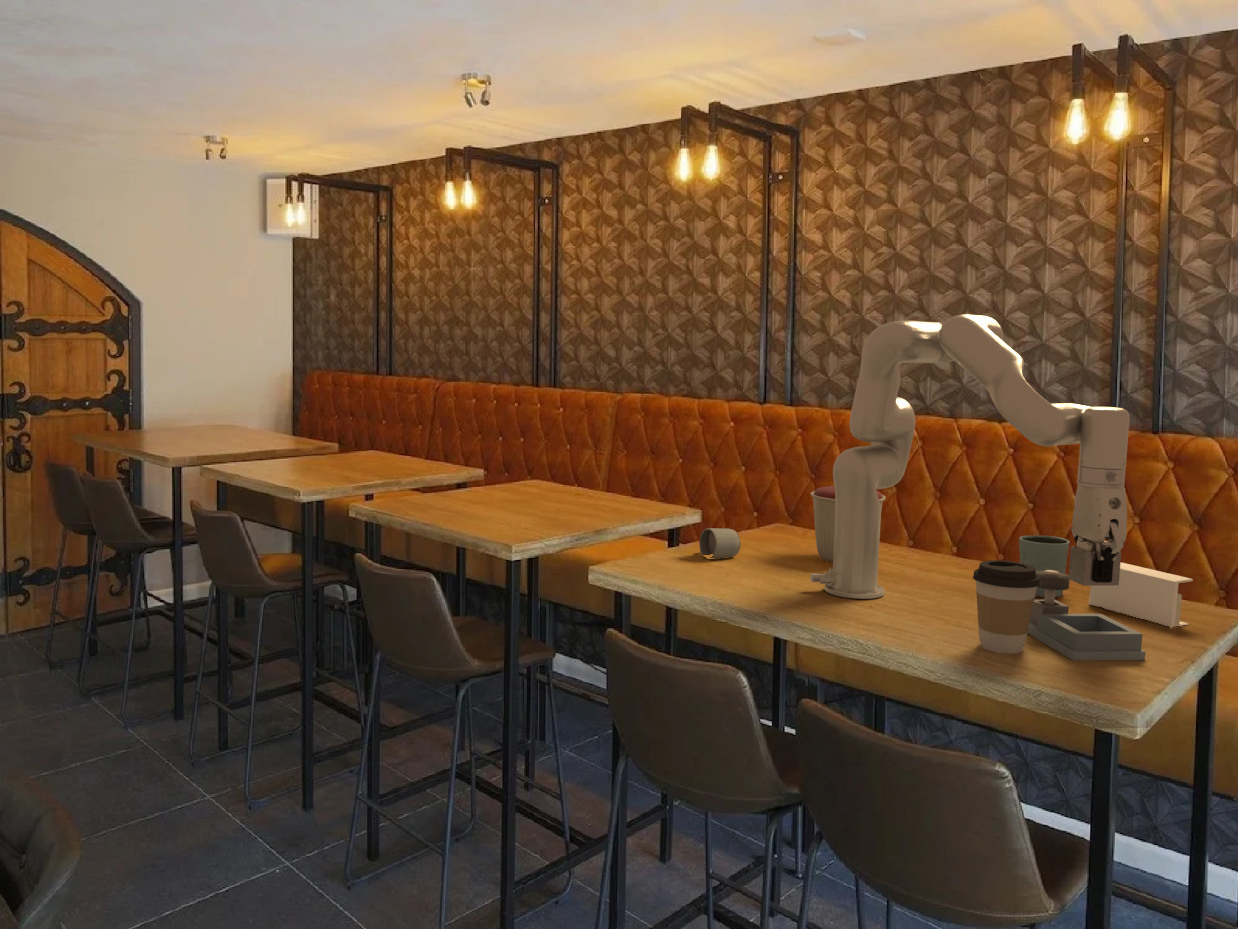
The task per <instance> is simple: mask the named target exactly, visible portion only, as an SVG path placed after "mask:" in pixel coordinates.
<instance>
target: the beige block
mask: <svg viewBox="0 0 1238 929" xmlns="http://www.w3.org/2000/svg"><path fill="white" fill-rule="evenodd" d="M1104 542H1108V541H1106V540H1105V541H1104ZM1107 547H1108V546H1103V551H1104V550H1105V549H1106V548H1107ZM1095 559H1097V549H1096V542H1093V541H1089V540H1087V541H1077V546H1076V545H1075V546H1074V545H1073V546H1070V553H1069V565H1068V566H1069V568H1068V575H1069V578H1068V579H1070V580H1069V581H1072V582H1075V583H1077V584H1078V585H1079V584H1080V585H1081V586H1083V587H1084V586H1089V587H1090V586H1119V575H1120V563H1121V560H1122V552H1121V550H1120V551H1119V552H1118V554H1117V555H1116V559H1115V561H1114V562H1113V574H1112V582H1109V583H1097V582H1094V581H1093V574H1094V561H1095Z"/></svg>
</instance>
